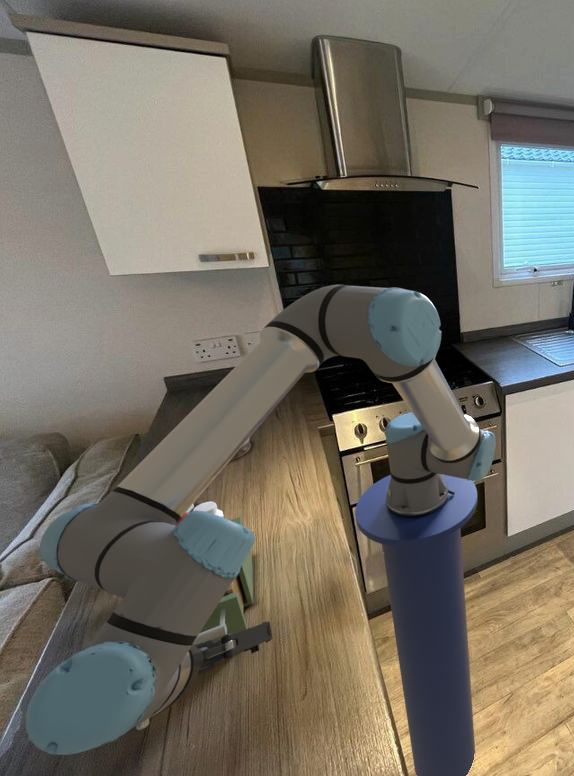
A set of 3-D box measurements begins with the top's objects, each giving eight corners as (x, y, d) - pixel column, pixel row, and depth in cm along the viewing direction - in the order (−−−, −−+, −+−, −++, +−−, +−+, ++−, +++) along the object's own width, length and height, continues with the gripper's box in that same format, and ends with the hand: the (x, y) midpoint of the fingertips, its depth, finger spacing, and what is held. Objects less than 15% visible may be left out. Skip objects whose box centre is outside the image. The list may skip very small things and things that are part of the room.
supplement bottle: (219, 552, 94) (208, 515, 91) (194, 552, 94) (182, 515, 91) (235, 535, 99) (225, 499, 96) (212, 535, 99) (200, 499, 96)
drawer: (248, 659, 71) (236, 619, 68) (167, 694, 66) (149, 652, 63) (248, 585, 85) (237, 549, 82) (180, 609, 79) (167, 572, 76)
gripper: (-25, 795, 40) (83, 740, 57) (286, 656, 52) (298, 646, 69) (-22, 703, 42) (81, 678, 59) (275, 592, 55) (289, 597, 72)
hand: (198, 660), depth 64 cm, fingers open, 13 cm apart
